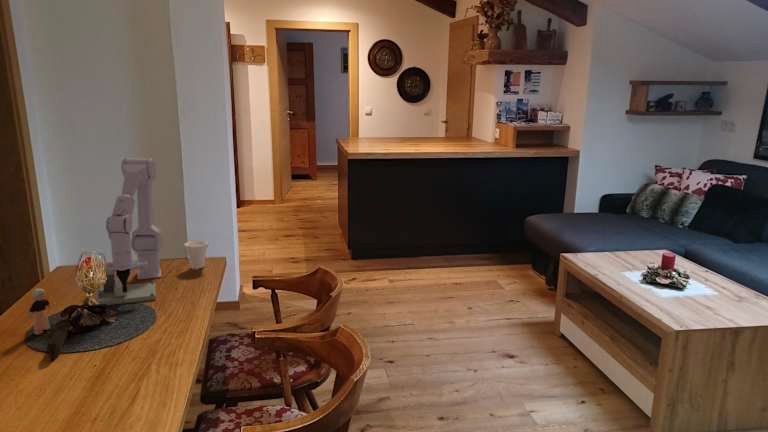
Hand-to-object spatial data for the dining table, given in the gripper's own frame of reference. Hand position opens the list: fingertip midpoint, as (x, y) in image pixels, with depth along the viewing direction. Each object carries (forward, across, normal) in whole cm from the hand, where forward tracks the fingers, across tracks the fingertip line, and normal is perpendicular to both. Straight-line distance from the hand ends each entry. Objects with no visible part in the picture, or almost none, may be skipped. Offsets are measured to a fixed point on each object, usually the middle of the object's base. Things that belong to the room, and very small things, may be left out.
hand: (125, 291), depth 181 cm
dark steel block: (+1, -5, +6) cm, 8 cm away
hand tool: (+3, -15, -30) cm, 34 cm away
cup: (+3, +24, +26) cm, 36 cm away
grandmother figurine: (+3, -21, -18) cm, 28 cm away
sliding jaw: (+1, -2, +3) cm, 4 cm away
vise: (+3, -1, +3) cm, 4 cm away
